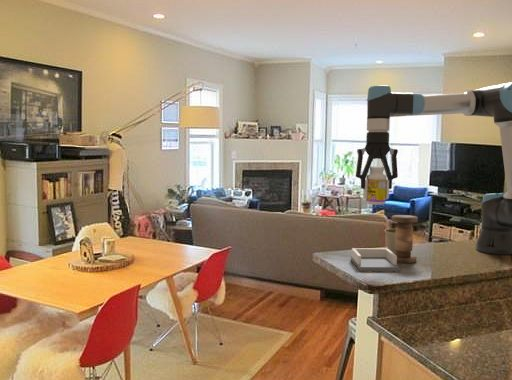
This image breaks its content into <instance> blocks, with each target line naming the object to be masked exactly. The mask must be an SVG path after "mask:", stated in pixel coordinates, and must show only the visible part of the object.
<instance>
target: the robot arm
mask: <svg viewBox="0 0 512 380" xmlns="http://www.w3.org/2000/svg"><path fill="white" fill-rule="evenodd" d="M366 102H367V103H366V106H367V111H366V113H367V115H366V116H367V117H366V118H367V119H366V130H367V132H366V139H365V140H366V142H365V146H364V148H357V149H356V153H357V160H356V162H357V163H356V169H355V170H356V171H355V178H358V179H360V188H361V190H362V189H363V193H362V194H363V197H362V198H363V199H365V200H366V199H367V187H368V180H367V175H368V174H369V172H370V167H372V163H373V161H374V160H376V159H378V160H381V163H382V167H384V172H385V175H386V200H388V199H389V197H390V196H389V195H390V192H389V191H390V190H392V188H393V180H394V179H398V176H399V174H398V173H399V172H398V158H397V156H398V155H397V154H398V153H399V150H398V149H395V148H391V147H390V133H389V132H388V131H390V118H395V117H410V116H417V117H418V116H432V115H433V116H434V115H436V116H437V115H453V114H462V115H464V116H466V117H469V116H471V117H472V116H473V117H475V116H476V117H488V118H493V124H495V125H496V126H498V128H499V133H500V142H501V151H502V158H503V159H502V160H503V166H504V177H505V184H506V186H505V187H506V192H500V193H497V192H496V193H485V194H484V195H483V196H482V202H481V205H482V206H481V229H480V233H479V235H478V238H477V240H476V242H475V250H476V251H478V252H481V253H486V254H493V255H505V256H506V255H512V81H508V82H505V83H499V84H494V85H489V86H485V87H481V88H477V89H470V90H469V89H468V90H465V91H464V92H461V93H442V94H439V93H437V94H422V93H420V92H419V93H418V92H394V91H392V90H391V86H389V85H382V84H381V85H379V84H378V85H372V86H370V87H368V90H367V99H366ZM365 152H366V154H367V155H368V157H367V158H366V159H367V160H366V163H365V165H364V168H363V170H362V167H363V159H364V154H365ZM388 154H389V155H390V161H391V162H390V163H391V168H390V166H389V163H388V159H387V155H388Z"/></svg>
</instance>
